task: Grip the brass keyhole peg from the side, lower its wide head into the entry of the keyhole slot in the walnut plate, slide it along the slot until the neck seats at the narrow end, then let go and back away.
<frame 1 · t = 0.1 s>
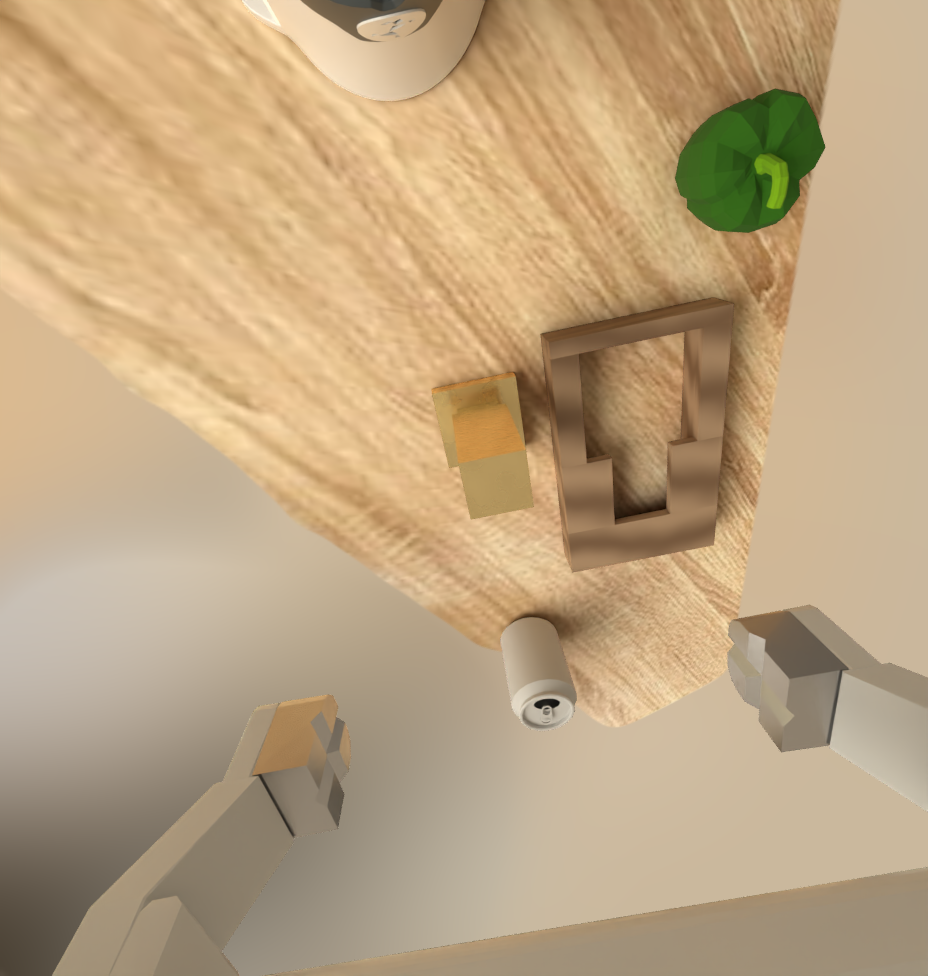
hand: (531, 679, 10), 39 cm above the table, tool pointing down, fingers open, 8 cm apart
bell pepper: (707, 171, 40), on the table
walnut keyhole plate: (629, 442, 51), on the table
can: (527, 632, 64), on the table
brass peg: (479, 418, 48), on the table
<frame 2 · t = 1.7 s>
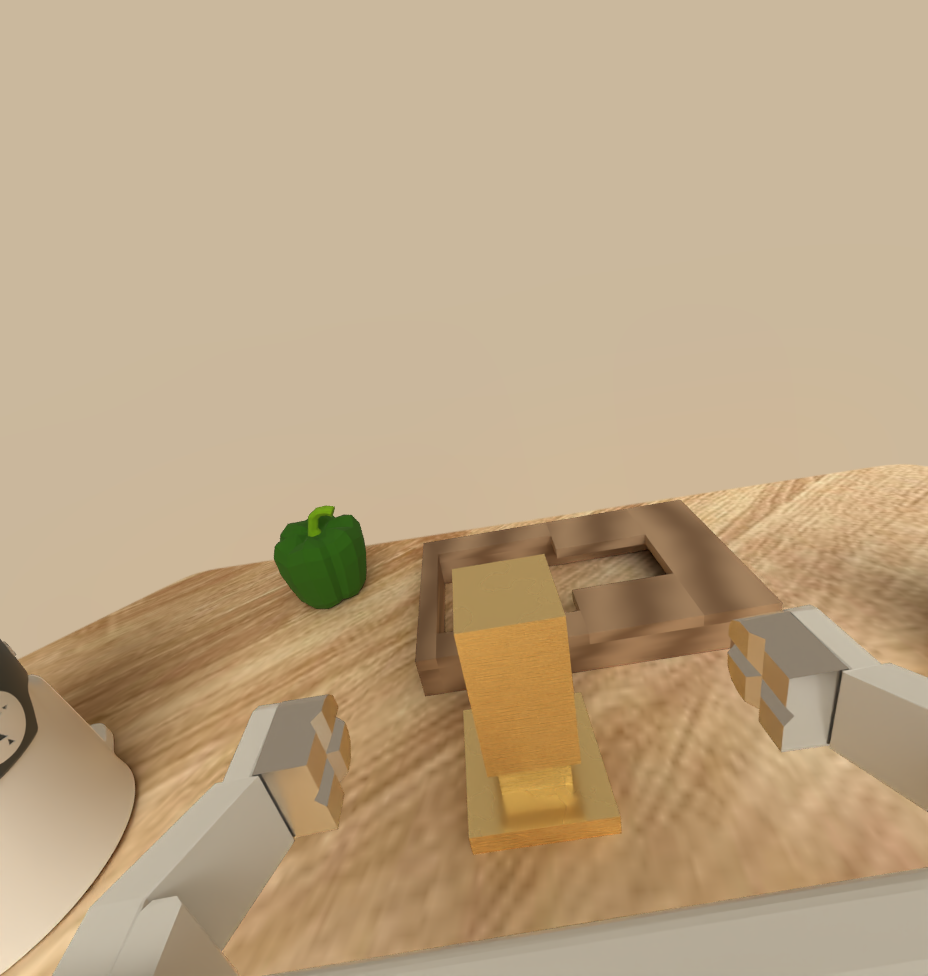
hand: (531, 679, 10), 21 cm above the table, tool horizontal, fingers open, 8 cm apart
bell pepper: (336, 594, 50), on the table
walnut keyhole plate: (572, 599, 43), on the table
brass peg: (534, 772, 29), on the table
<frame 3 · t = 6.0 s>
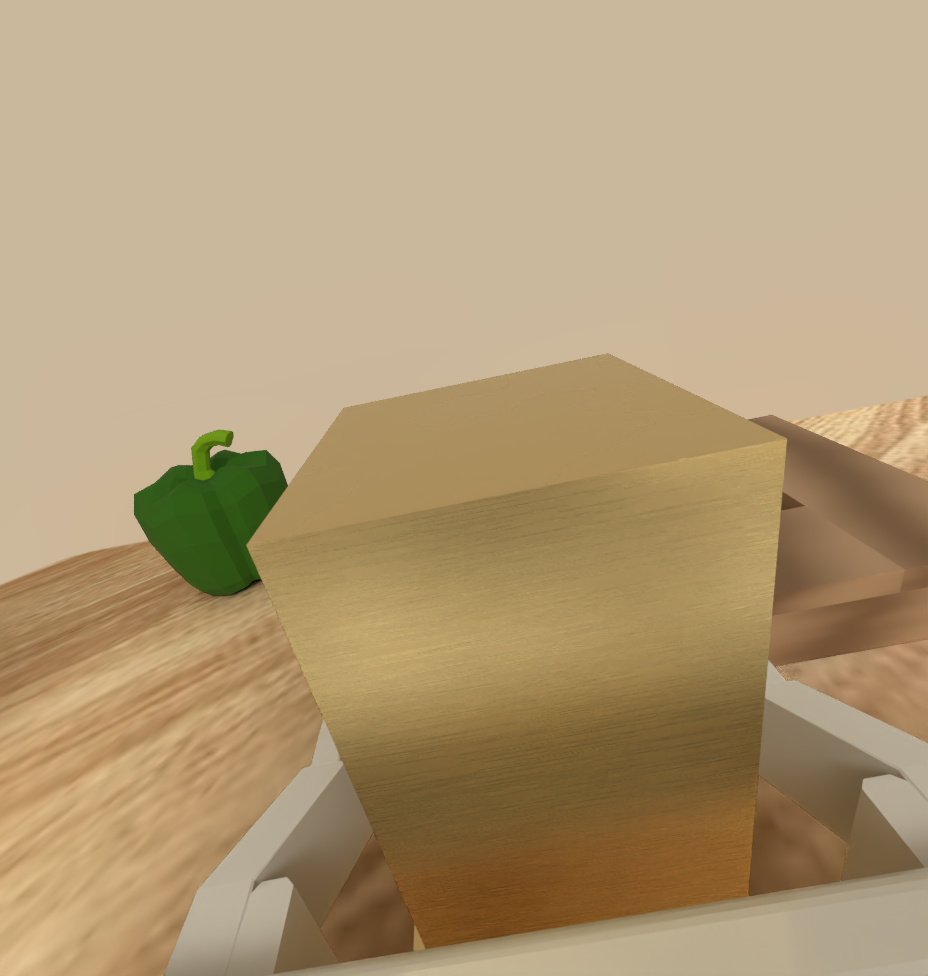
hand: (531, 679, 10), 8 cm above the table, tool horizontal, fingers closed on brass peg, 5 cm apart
bell pepper: (250, 575, 33), on the table
walnut keyhole plate: (616, 566, 26), on the table
brass peg: (580, 936, 12), on the table, touching gripper
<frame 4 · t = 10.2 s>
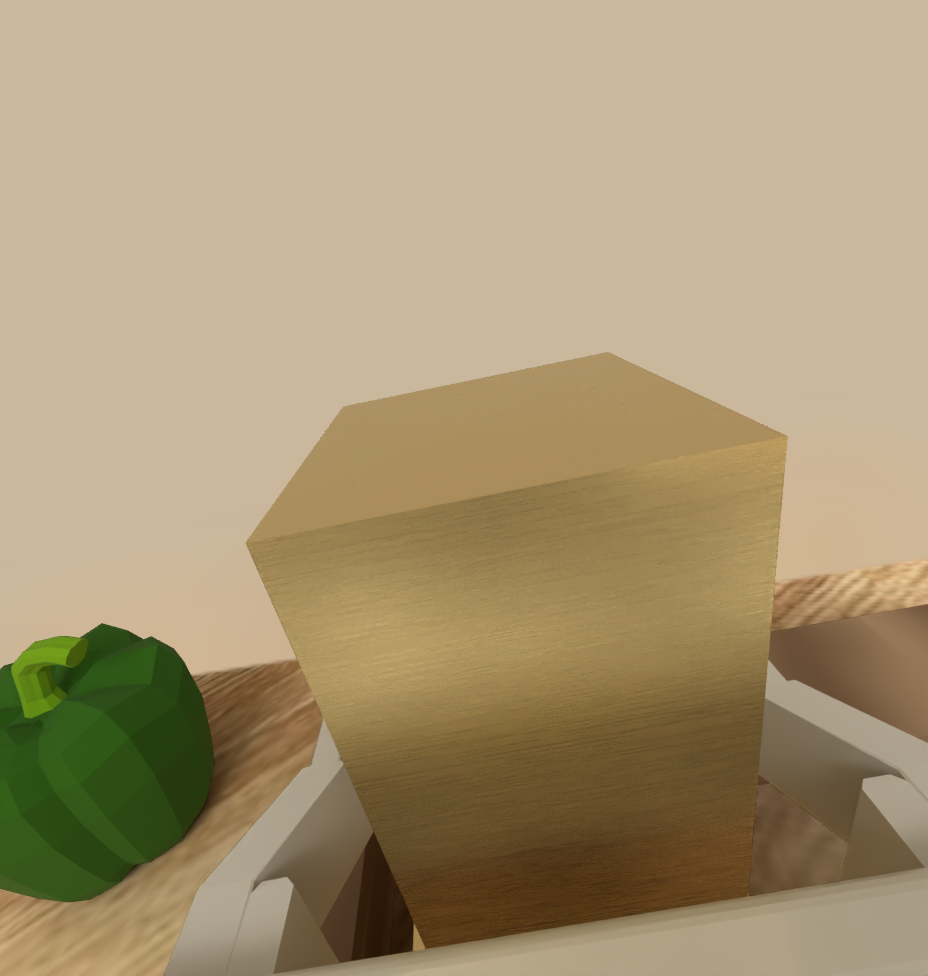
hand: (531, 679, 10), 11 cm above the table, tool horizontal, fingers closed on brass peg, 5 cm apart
bell pepper: (139, 828, 21), on the table
walnut keyhole plate: (790, 951, 13), on the table
brass peg: (580, 935, 12), point 3 cm above the table, touching gripper
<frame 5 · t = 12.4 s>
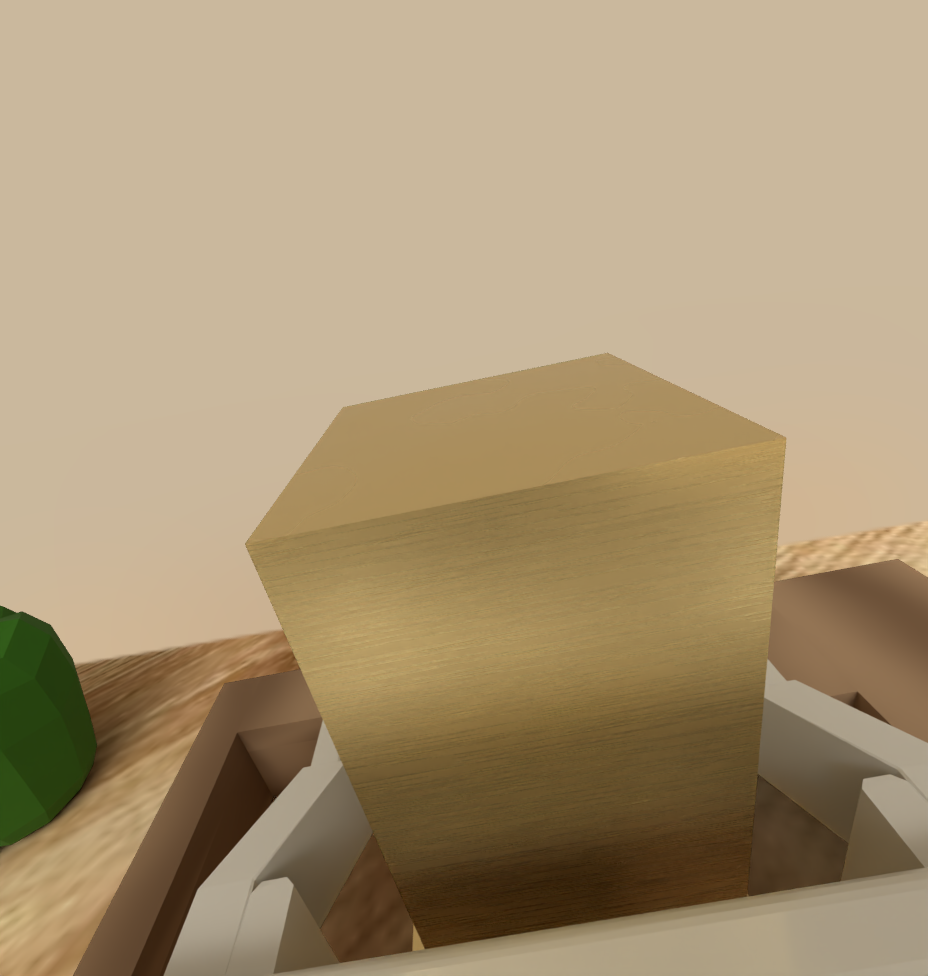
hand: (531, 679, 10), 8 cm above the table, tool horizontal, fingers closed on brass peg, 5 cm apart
bell pepper: (15, 811, 20), on the table
walnut keyhole plate: (634, 931, 13), on the table
brass peg: (579, 936, 12), resting in walnut keyhole plate, touching gripper
when the fingers open (8 cm above the table, at t = 14.3 s): brass peg stays where it is, resting in walnut keyhole plate.
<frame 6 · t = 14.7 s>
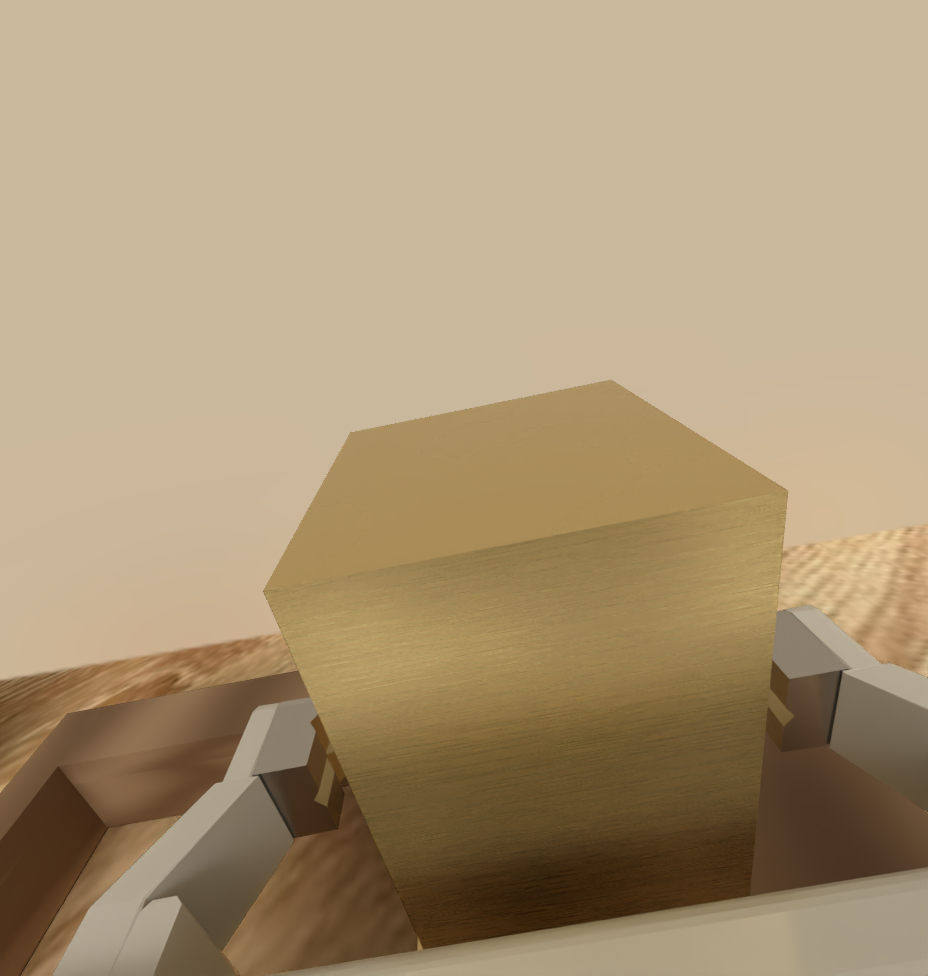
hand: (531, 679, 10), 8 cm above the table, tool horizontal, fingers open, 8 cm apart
walnut keyhole plate: (394, 973, 13), on the table
brass peg: (582, 947, 13), resting in walnut keyhole plate
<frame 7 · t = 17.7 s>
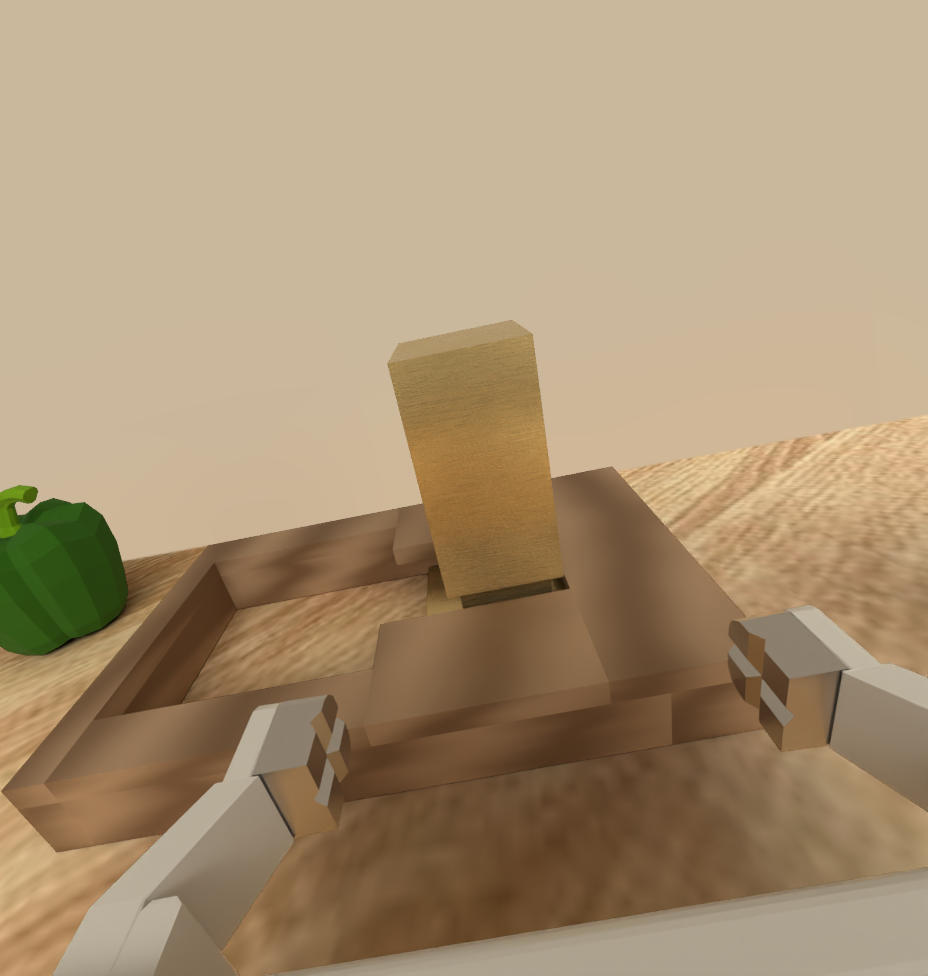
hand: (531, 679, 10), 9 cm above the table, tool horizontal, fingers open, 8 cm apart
bell pepper: (78, 630, 32), on the table
walnut keyhole plate: (414, 636, 25), on the table
brass peg: (511, 620, 24), resting in walnut keyhole plate
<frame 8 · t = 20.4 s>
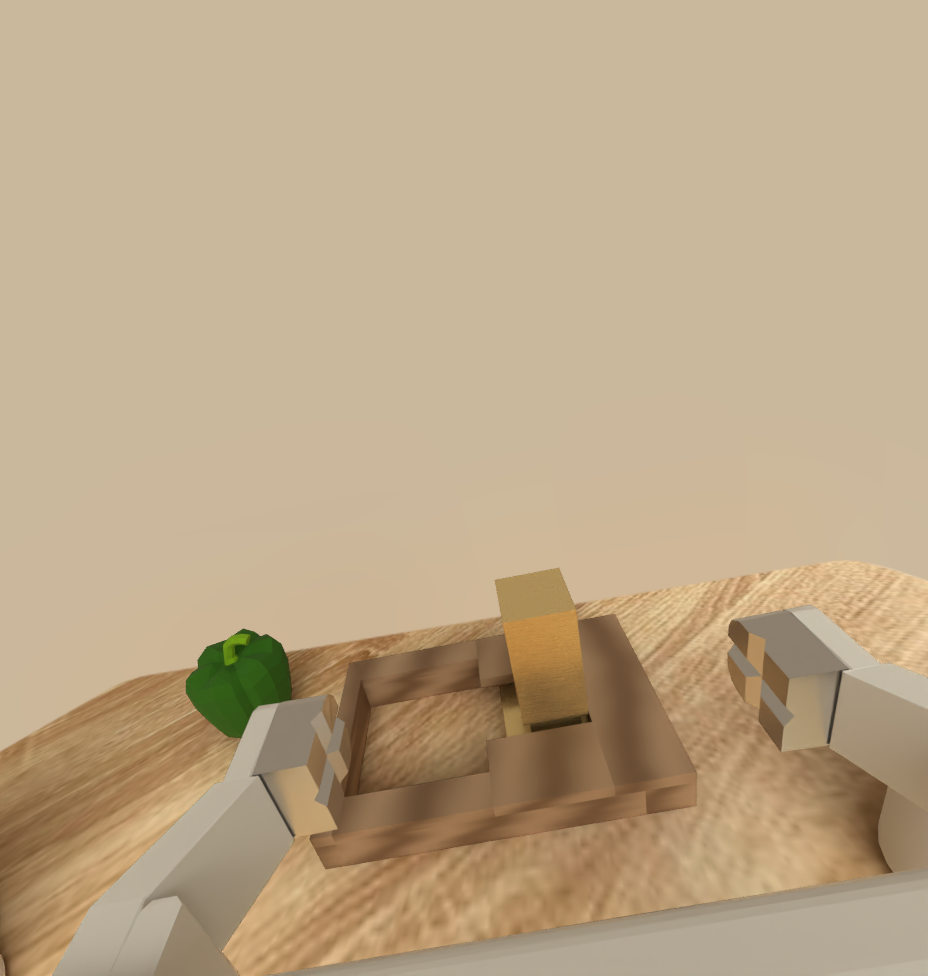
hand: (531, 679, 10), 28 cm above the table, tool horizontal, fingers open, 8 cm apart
bell pepper: (260, 716, 48), on the table
walnut keyhole plate: (495, 736, 41), on the table
brass peg: (554, 727, 40), resting in walnut keyhole plate
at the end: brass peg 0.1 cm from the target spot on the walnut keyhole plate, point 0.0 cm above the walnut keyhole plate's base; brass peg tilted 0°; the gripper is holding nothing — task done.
